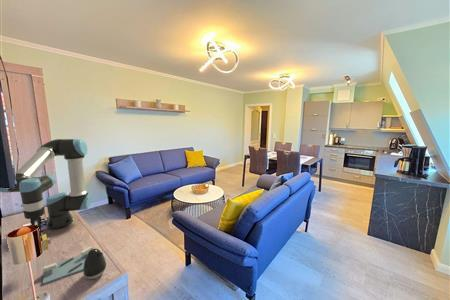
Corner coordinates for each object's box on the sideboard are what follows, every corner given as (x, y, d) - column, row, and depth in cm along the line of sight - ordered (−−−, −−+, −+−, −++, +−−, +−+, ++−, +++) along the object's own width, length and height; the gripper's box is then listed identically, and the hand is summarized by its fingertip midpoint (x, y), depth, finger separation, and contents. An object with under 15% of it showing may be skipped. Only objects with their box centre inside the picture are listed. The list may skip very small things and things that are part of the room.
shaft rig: (46, 267, 107) (45, 259, 106) (94, 251, 119) (93, 244, 118) (42, 285, 96) (41, 276, 95) (95, 266, 109) (94, 258, 108)
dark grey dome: (96, 284, 98) (93, 258, 95) (79, 280, 100) (75, 255, 97) (111, 268, 108) (109, 245, 105) (95, 265, 109) (92, 241, 106)
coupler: (29, 249, 102) (27, 239, 101) (50, 242, 108) (49, 232, 107) (29, 255, 98) (27, 245, 97) (51, 247, 104) (50, 238, 103)
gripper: (23, 203, 102) (30, 242, 107) (23, 218, 89) (30, 261, 94) (43, 199, 107) (48, 236, 112) (45, 213, 94) (51, 254, 99)
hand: (40, 248), depth 103 cm, fingers closed on coupler, 6 cm apart
